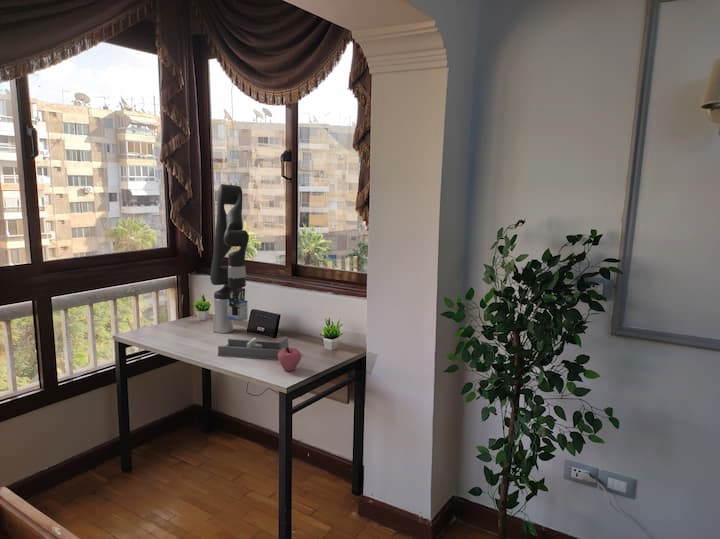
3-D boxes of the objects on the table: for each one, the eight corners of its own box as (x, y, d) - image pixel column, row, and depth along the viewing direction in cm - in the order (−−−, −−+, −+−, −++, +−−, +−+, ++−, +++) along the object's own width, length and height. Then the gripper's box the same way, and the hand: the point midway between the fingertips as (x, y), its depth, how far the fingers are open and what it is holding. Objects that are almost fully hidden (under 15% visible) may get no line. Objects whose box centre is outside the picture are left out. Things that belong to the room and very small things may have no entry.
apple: (303, 372, 212) (303, 348, 211) (282, 375, 208) (282, 350, 207) (294, 365, 220) (295, 341, 219) (274, 367, 217) (274, 344, 215)
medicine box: (227, 319, 233) (226, 299, 232) (233, 317, 237) (233, 298, 236) (241, 321, 230) (241, 302, 229) (247, 319, 234) (247, 300, 233)
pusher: (246, 353, 230) (246, 343, 230) (253, 347, 239) (253, 337, 239) (258, 354, 230) (258, 344, 229) (265, 347, 239) (265, 338, 238)
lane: (218, 355, 230) (217, 340, 229) (229, 347, 243) (229, 332, 242) (280, 359, 227) (280, 344, 225) (288, 350, 239) (288, 335, 238)
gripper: (234, 273, 238) (235, 309, 241) (222, 278, 224) (222, 317, 227) (250, 273, 237) (251, 310, 240) (239, 279, 223) (239, 318, 226)
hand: (237, 313), depth 233 cm, fingers closed on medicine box, 5 cm apart
